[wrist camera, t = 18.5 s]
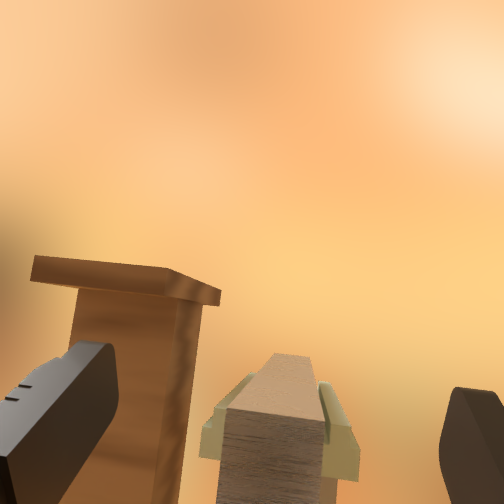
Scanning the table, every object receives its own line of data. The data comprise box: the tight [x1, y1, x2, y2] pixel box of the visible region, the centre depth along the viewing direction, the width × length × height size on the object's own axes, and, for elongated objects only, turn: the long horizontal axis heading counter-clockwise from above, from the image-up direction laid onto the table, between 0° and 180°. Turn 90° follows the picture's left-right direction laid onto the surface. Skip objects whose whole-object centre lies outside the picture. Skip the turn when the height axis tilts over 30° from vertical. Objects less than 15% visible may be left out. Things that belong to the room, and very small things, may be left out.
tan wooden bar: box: [216, 353, 325, 504], centre depth 24 cm, size 24×3×3 cm, turn 173°
